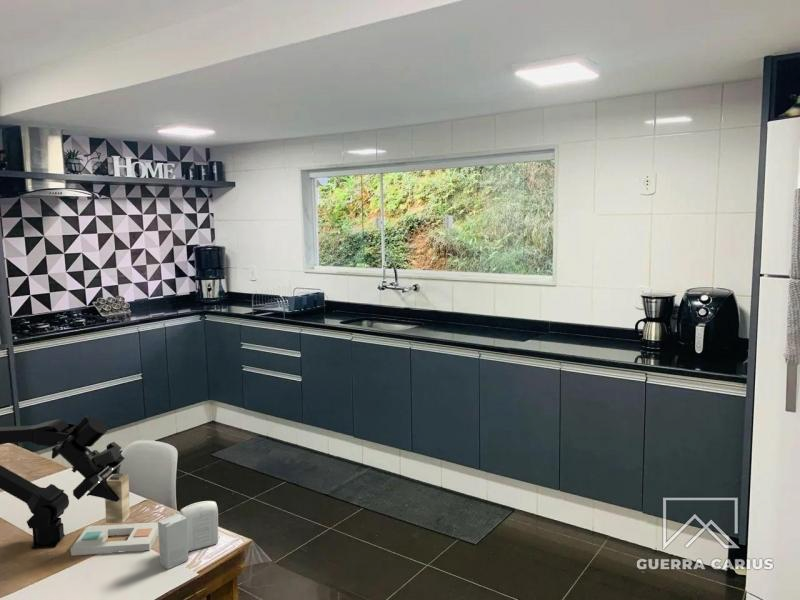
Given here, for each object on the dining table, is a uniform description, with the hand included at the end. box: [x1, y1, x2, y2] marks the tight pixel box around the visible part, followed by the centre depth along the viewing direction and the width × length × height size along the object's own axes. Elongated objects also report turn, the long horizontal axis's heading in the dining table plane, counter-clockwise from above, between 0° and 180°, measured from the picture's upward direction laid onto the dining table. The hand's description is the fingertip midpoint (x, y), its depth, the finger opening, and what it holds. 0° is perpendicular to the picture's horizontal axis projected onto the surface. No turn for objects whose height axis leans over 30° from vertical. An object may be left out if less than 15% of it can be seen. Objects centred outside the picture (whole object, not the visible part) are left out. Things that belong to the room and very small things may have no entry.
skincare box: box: [157, 513, 190, 570], centre depth 155 cm, size 6×4×12 cm
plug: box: [104, 473, 131, 524], centre depth 164 cm, size 4×4×13 cm
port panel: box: [70, 521, 159, 556], centre depth 166 cm, size 20×12×2 cm, turn 98°
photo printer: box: [179, 500, 219, 552], centre depth 164 cm, size 10×4×12 cm, turn 123°
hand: (122, 496), depth 164 cm, fingers closed on plug, 4 cm apart
